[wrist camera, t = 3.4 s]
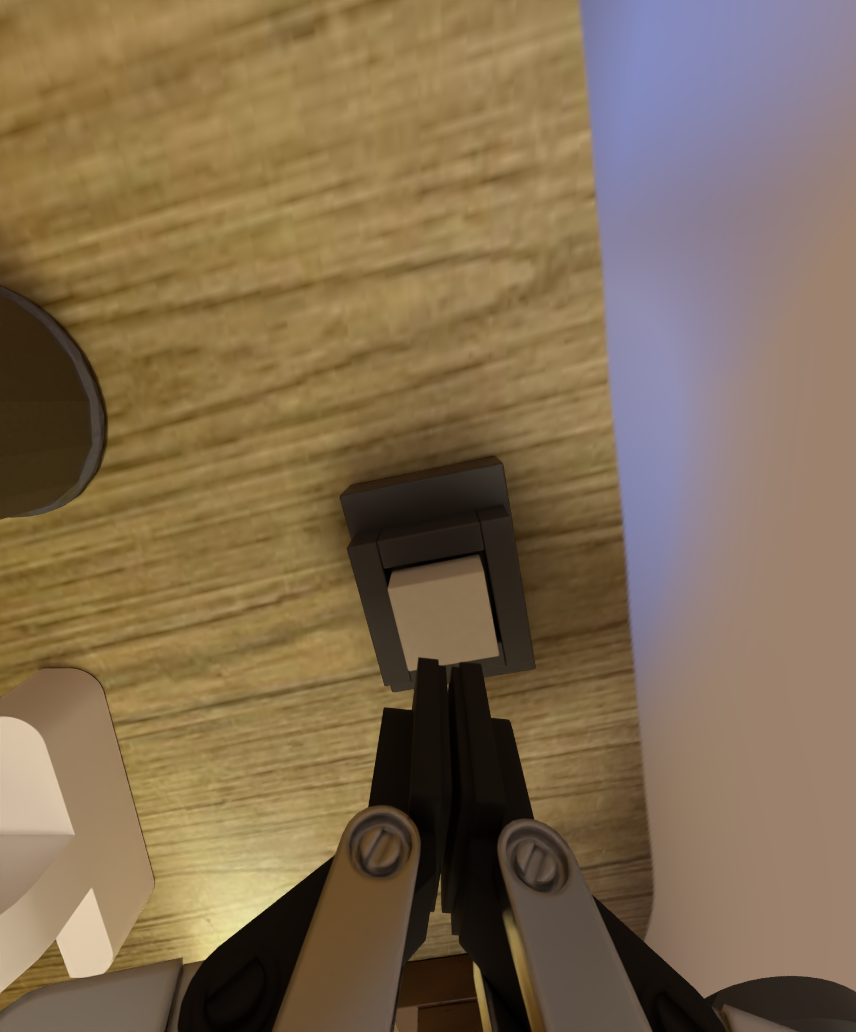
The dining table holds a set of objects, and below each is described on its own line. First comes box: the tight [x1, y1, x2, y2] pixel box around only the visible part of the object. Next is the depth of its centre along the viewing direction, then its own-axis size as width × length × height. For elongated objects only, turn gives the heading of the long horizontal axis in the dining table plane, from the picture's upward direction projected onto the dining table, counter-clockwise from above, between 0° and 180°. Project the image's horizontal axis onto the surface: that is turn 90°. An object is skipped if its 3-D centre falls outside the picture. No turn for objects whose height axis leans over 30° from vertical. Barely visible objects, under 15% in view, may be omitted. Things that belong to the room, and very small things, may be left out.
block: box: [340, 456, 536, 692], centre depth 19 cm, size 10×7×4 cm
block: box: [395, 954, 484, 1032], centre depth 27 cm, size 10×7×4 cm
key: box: [388, 555, 499, 671], centre depth 17 cm, size 4×4×2 cm
